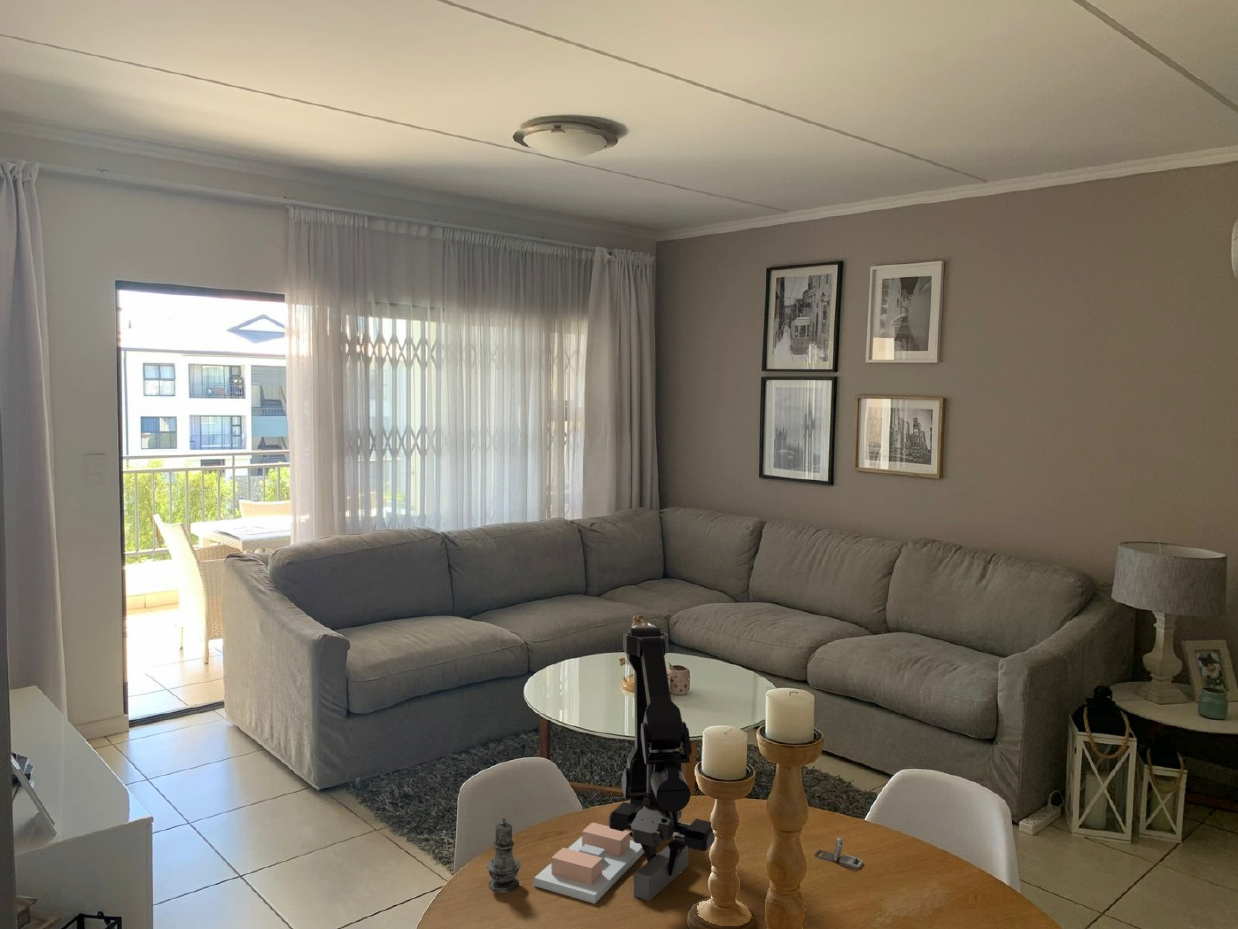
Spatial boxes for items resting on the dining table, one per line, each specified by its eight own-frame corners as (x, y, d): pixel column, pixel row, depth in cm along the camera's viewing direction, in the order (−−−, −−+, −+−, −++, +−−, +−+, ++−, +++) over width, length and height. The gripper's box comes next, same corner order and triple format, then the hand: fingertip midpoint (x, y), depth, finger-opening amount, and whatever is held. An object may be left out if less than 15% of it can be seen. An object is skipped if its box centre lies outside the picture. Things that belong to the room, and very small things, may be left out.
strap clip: (863, 864, 168) (864, 842, 168) (858, 871, 165) (859, 849, 165) (819, 852, 172) (819, 830, 172) (813, 858, 170) (814, 836, 169)
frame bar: (673, 861, 168) (674, 840, 167) (688, 866, 166) (688, 845, 166) (633, 896, 156) (633, 873, 156) (648, 901, 154) (648, 879, 154)
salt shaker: (514, 895, 156) (514, 827, 155) (482, 891, 157) (481, 824, 156) (525, 877, 162) (525, 812, 161) (493, 874, 163) (493, 809, 162)
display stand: (589, 837, 177) (589, 814, 176) (645, 851, 171) (645, 828, 171) (534, 886, 159) (534, 861, 158) (594, 903, 153) (594, 878, 153)
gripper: (594, 793, 157) (593, 880, 158) (695, 816, 148) (693, 908, 149) (623, 770, 167) (622, 852, 168) (719, 790, 158) (717, 877, 159)
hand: (661, 872), depth 161 cm, fingers closed on frame bar, 3 cm apart
